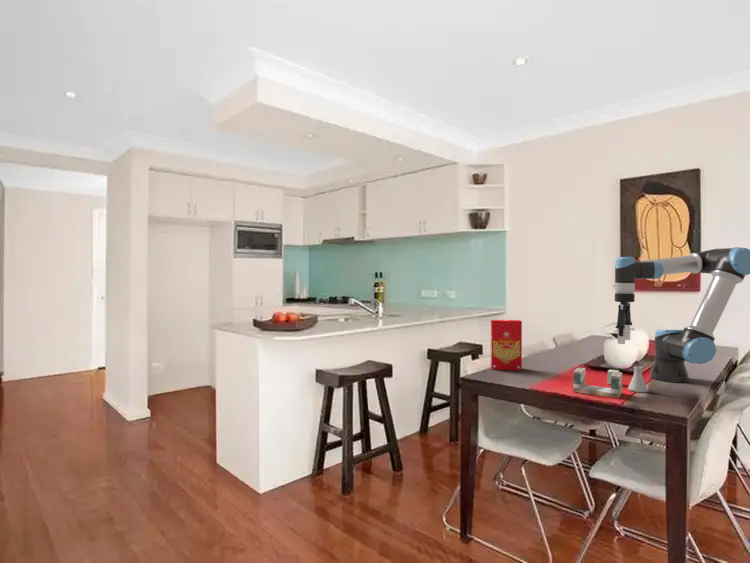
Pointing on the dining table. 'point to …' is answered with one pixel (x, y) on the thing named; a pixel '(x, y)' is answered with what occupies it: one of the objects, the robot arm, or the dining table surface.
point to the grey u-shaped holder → (595, 390)
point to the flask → (638, 381)
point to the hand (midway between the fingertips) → (623, 341)
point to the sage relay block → (610, 375)
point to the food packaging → (506, 344)
